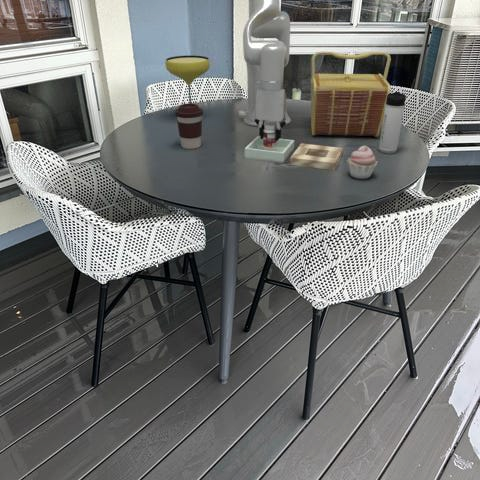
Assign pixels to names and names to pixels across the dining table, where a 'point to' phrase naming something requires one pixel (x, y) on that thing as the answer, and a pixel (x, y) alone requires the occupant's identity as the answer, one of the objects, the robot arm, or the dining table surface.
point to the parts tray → (269, 150)
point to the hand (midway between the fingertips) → (270, 138)
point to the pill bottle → (269, 136)
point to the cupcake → (362, 163)
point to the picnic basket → (348, 100)
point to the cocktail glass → (188, 68)
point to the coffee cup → (189, 125)
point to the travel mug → (392, 122)
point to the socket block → (316, 156)
